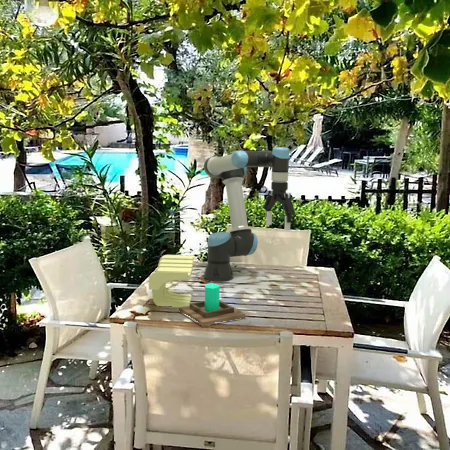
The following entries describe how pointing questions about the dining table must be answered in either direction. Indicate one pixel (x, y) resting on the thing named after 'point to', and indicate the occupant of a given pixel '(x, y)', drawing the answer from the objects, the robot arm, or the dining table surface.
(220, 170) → the robot arm
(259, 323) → the dining table surface
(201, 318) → the brown square tray
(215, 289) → the candle
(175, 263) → the slatted curved stool
